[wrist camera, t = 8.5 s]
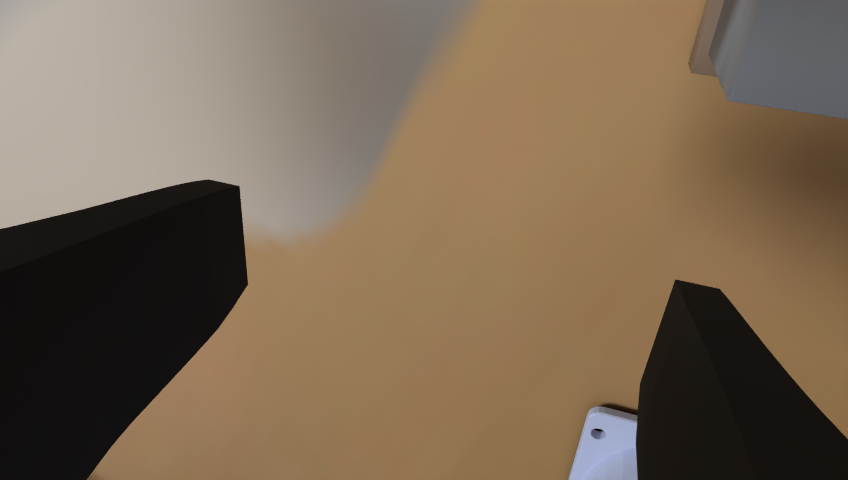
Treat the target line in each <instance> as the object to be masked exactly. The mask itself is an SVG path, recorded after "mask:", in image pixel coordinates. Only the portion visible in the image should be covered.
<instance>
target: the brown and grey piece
mask: <svg viewBox="0 0 848 480" xmlns="http://www.w3.org/2000/svg"><path fill="white" fill-rule="evenodd" d="M688 64H689V67H690V71H691V73H695V74H702V75H709V76H716V77H718V78H719V81H720V83H721V86H722V88H723V90H724V93H725V95H726V97H727V100H728V101H732V102H739V103H746V104H752V105H759V106H765V107H772V108H778V109H785V110H792V111H798V112H805V113H811V114H818V115H824V116H831V117H838V118H844V119H848V0H707V1H706V5H705V8H704V11H703V15H702V18H701V22H700V25H699V29H698V32H697V36H696V39H695V42H694V46H693V49H692V53H691V56H690V60H689V63H688Z"/></svg>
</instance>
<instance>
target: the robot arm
mask: <svg viewBox="0 0 848 480" xmlns="http://www.w3.org/2000/svg"><path fill="white" fill-rule="evenodd" d="M247 285H248V280H247V268H246V257H245V245H244V234H243V222H242V211H241V199H240V188H239V186H236V185H232V184H227V183H222V182H217V181H213V180H202V181H194V182H189V183H184V184H179V185H175V186H170V187H166V188H162V189H159V190H155V191H150V192H146V193H143V194H139V195H135V196H131V197H128V198H124V199H120V200H116V201H113V202H109V203H105V204H102V205H98V206H94V207H90V208H87V209H83V210H79V211H75V212H71V213H66V214H62V215H58V216H54V217H50V218H46V219H42V220H37V221H33V222H29V223H25V224H21V225H17V226H12V227H9V228H3V229H0V480H86V479H87V478H88V477H89V476H90V474H91V473H92V472H93V470H94V469H95V468H96V466H97V465H98V464H99V462H100V461H101V460H102V458H103V457H104V456H105V454H106V453H107V452H108V450H109V449H110V448H111V446H112V445H113V444H114V443H115V442H116V440H117V439H118V438H119V437H120V436H121V434H122V433H123V432H124V431H125V430H126V429H127V427H128V426H129V425H130V424H131V423H132V422H133V421H134V420H135V418H136V417H137V416H138V415H139V414H140V413H141V412H142V411H143V410H144V409H145V408H146V407H147V406H148V404H149V403H150V402H151V401H152V400H153V399H154V398H155V397H156V396H157V395H158V394H159V393H160V392H161V390H162V389H163V388H164V387H165V386H166V385H167V384H168V383H169V382H170V381H171V380H172V379H173V378H174V376H175V375H176V374H177V373H178V372H179V371H180V370H181V369H182V368H183V367H184V366H185V365H186V364H187V362H188V361H189V360H190V359H191V358H192V357H193V356H194V355H195V354H196V353H197V351H198V350H199V349H200V348H201V347H202V346H203V345H204V344H205V343H206V342H207V340H208V339H209V338H210V337H211V336H212V335H213V334H214V333H215V331H216V330H217V329H218V328H219V327H220V325H221V324H222V322H223V321H224V320H225V318H226V317H227V315H228V314H229V312H230V311H231V310H232V308H233V307H234V305H235V304H236V302H237V300H238V299H239V297H240V296H241V294H242V293H243V291H244V290H245V288H246V287H247ZM595 428H597V429H601V430H603V431H596V430H594V429H595ZM568 480H848V439H847V438H846V437H845V436H844V435H843V434H842V433H841V432H840V431H839V430H838V428H837V427H836V426H835V425H834V424H833V423H832V422H831V421H830V420H829V419H828V418H827V417H826V416H825V415H824V414H823V413H822V412H821V410H820V409H819V408H818V407H817V406H816V405H815V404H814V403H813V402H812V400H811V399H810V398H809V397H808V396H807V395H806V394H805V393H804V391H803V390H802V389H801V388H800V387H799V386H798V385H797V383H796V382H795V381H794V380H793V379H792V378H791V376H790V375H789V374H788V373H787V372H786V370H785V369H784V368H783V367H782V366H781V364H780V363H779V362H778V361H777V360H776V358H775V357H774V356H773V355H772V353H771V352H770V351H769V350H768V349H767V347H766V346H765V345H764V344H763V342H762V341H761V340H760V339H759V337H758V336H757V335H756V334H755V332H754V331H753V330H752V328H751V327H750V326H749V325H748V323H747V322H746V321H745V320H744V318H743V317H742V316H741V315H740V313H739V312H738V311H737V309H736V308H735V307H734V306H733V304H732V303H731V302H730V301H729V299H728V298H727V297H726V296H725V295H724V294H723V292H722V291H721V290H720V289H717V288H713V287H708V286H703V285H699V284H694V283H689V282H685V281H680V280H675V282H674V285H673V288H672V291H671V294H670V297H669V300H668V303H667V306H666V309H665V312H664V315H663V318H662V321H661V324H660V326H659V329H658V332H657V335H656V338H655V341H654V344H653V347H652V350H651V353H650V356H649V359H648V362H647V365H646V368H645V371H644V374H643V377H642V379H641V382H640V392H639V404H638V415H633V414H629V413H626V412H622V411H618V410H614V409H610V408H607V407H600V406H598V407H594V408H592V409H590V410H589V412H588V414H587V417H586V420H585V424H584V427H583V431H582V434H581V438H580V441H579V445H578V448H577V451H576V455H575V458H574V462H573V465H572V469H571V472H570V475H569V479H568Z"/></svg>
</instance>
